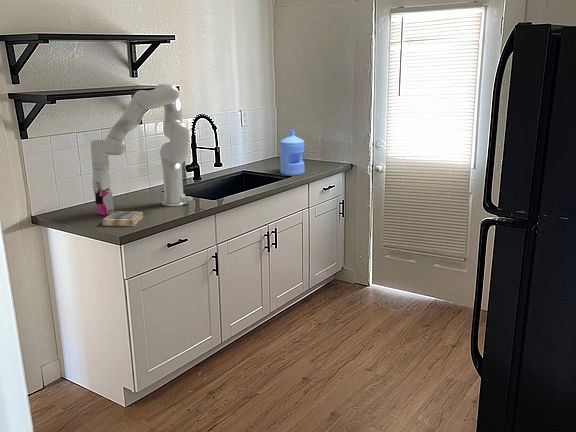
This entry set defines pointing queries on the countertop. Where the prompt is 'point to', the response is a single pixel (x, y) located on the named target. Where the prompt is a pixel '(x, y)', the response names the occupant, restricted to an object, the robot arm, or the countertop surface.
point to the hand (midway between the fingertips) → (103, 201)
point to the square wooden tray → (122, 218)
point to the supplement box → (106, 203)
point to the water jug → (292, 155)
